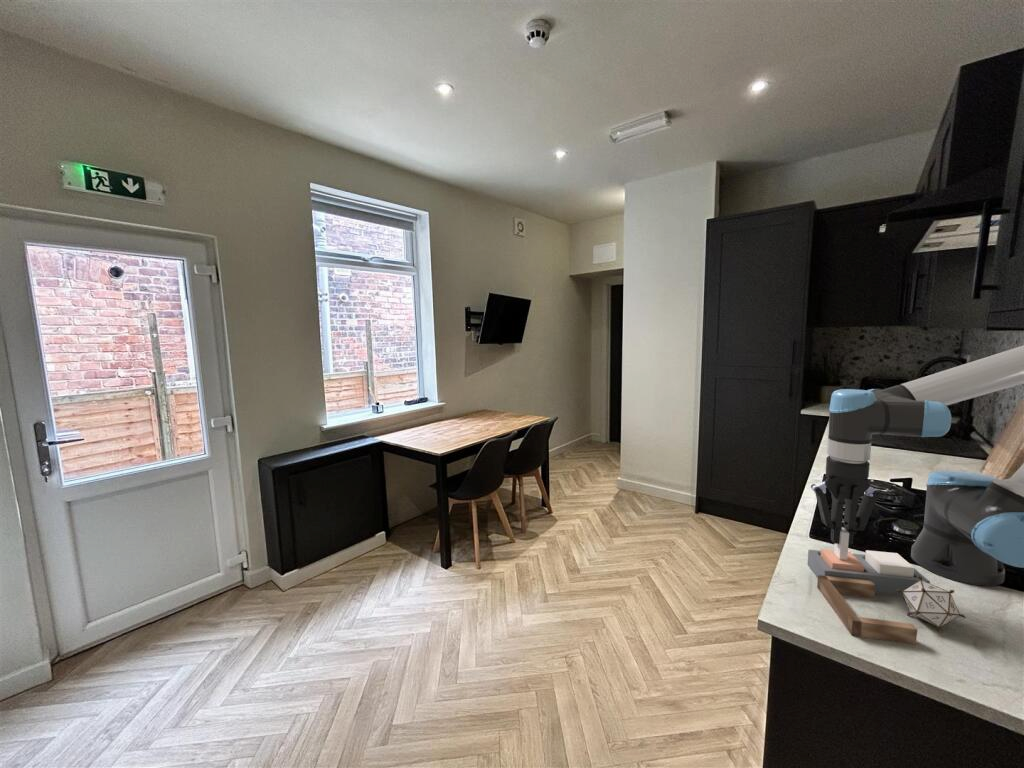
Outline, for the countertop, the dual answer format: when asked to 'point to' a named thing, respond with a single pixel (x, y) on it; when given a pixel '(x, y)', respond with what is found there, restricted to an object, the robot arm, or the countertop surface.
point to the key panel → (864, 574)
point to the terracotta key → (841, 561)
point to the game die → (930, 603)
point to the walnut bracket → (861, 625)
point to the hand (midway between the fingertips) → (840, 556)
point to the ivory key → (889, 563)
